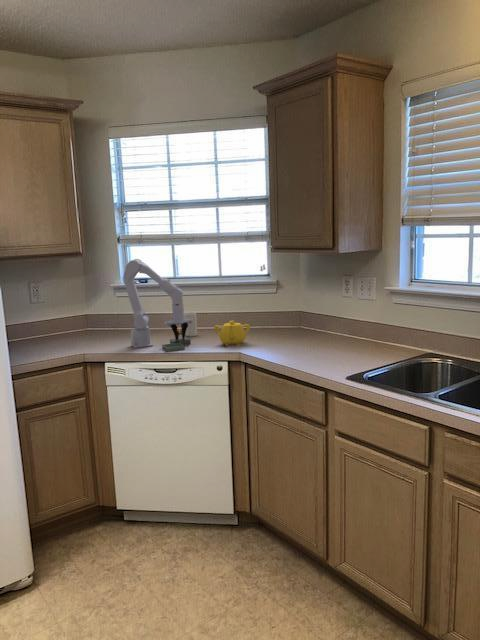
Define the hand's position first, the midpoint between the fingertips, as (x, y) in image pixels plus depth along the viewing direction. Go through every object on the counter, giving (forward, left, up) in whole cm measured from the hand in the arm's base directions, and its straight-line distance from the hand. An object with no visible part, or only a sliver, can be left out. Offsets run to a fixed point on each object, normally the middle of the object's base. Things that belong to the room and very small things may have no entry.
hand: (180, 338), depth 278 cm
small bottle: (0, 0, -3) cm, 3 cm away
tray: (-6, -8, -3) cm, 11 cm away
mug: (+11, +20, -3) cm, 22 cm away
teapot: (+23, -16, -3) cm, 28 cm away
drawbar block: (0, 0, -3) cm, 3 cm away
